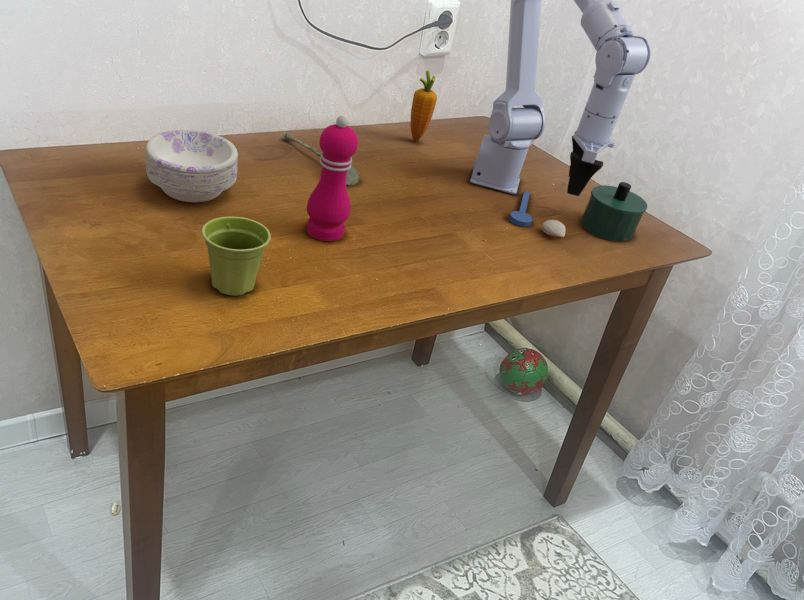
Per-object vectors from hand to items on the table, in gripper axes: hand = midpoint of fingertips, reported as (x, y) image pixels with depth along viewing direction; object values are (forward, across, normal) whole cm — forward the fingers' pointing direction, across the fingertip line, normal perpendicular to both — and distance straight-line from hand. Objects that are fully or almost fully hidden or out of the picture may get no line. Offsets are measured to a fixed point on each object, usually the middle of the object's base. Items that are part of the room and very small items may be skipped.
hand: (573, 185), depth 129 cm
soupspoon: (+9, +1, +48) cm, 49 cm away
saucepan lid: (+3, +6, -9) cm, 11 cm away
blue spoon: (+9, +4, +7) cm, 12 cm away
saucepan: (+9, +6, -9) cm, 14 cm away
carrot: (+9, +24, +33) cm, 41 cm away
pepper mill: (+9, -25, +38) cm, 47 cm away
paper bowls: (+9, -24, +63) cm, 68 cm away
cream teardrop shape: (+9, -4, +1) cm, 10 cm away
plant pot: (+9, -47, +46) cm, 66 cm away
